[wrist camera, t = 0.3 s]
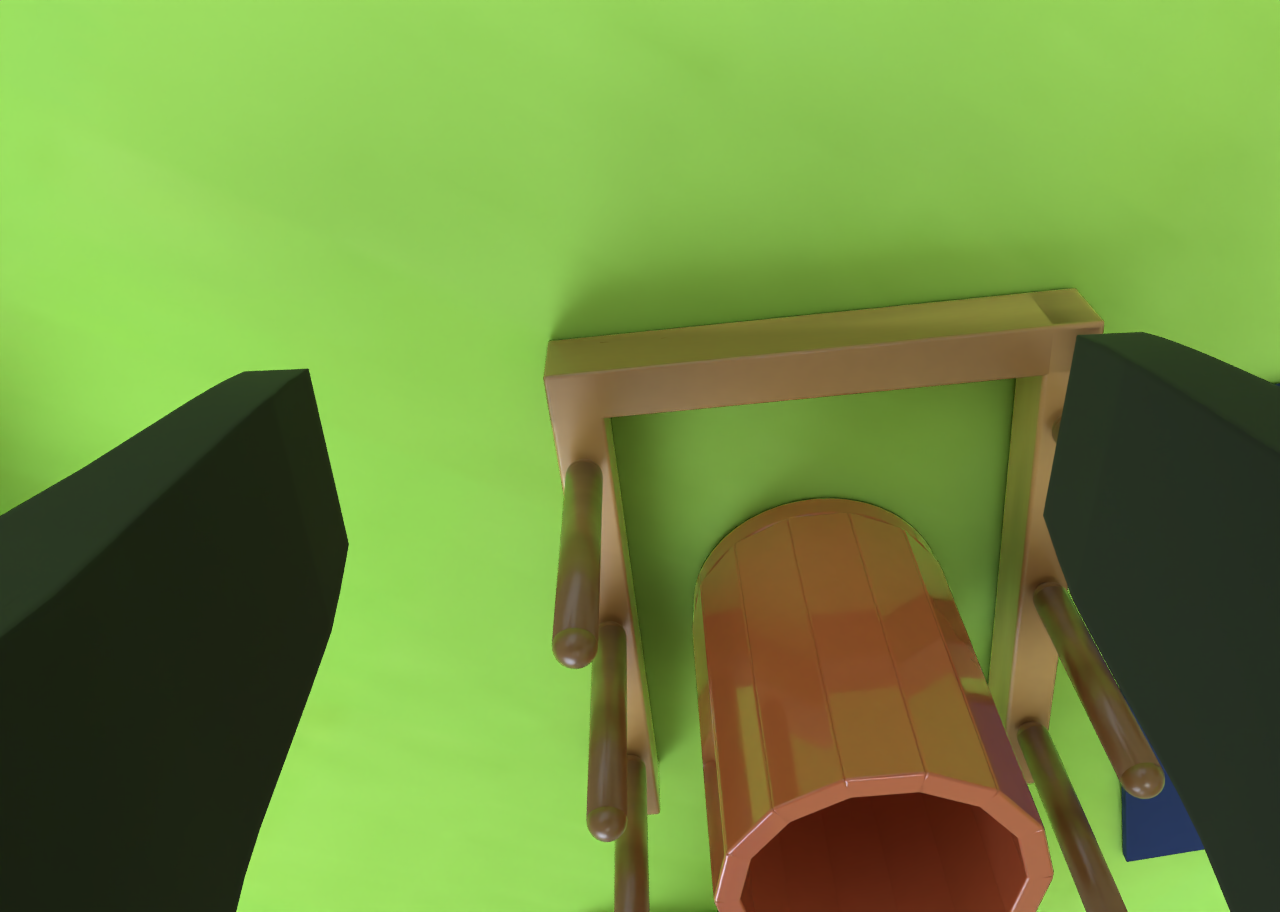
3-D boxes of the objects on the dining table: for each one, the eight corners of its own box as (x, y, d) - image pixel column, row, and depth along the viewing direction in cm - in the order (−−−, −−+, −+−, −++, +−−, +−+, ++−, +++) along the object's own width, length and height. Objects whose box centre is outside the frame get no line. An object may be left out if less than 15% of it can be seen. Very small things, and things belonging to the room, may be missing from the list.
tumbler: (937, 676, 26) (1039, 974, 19) (699, 696, 26) (724, 997, 20) (947, 484, 23) (1072, 761, 17) (680, 509, 23) (701, 791, 17)
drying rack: (1022, 736, 27) (1131, 1000, 21) (619, 769, 27) (618, 1037, 22) (1076, 286, 20) (1253, 490, 15) (547, 340, 21) (519, 558, 15)
